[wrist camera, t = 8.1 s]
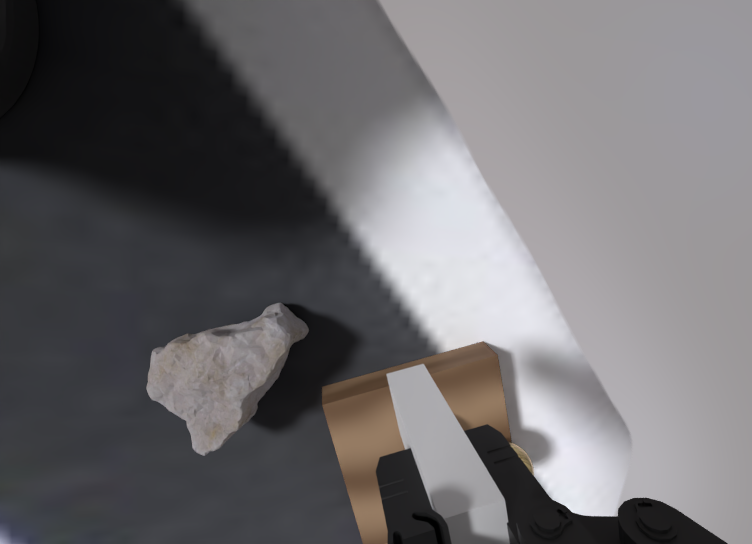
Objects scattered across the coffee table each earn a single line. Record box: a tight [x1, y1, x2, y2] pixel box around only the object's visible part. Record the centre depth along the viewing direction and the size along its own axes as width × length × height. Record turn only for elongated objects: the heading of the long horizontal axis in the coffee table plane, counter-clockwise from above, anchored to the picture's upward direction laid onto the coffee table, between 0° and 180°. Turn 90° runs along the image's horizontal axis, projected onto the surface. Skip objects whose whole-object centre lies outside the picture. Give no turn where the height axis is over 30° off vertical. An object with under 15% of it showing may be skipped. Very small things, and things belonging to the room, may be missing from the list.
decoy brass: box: [509, 442, 534, 476], centre depth 27 cm, size 4×4×4 cm
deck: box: [322, 342, 512, 544], centre depth 30 cm, size 22×13×2 cm, turn 13°
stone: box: [146, 303, 309, 455], centre depth 24 cm, size 10×8×6 cm
